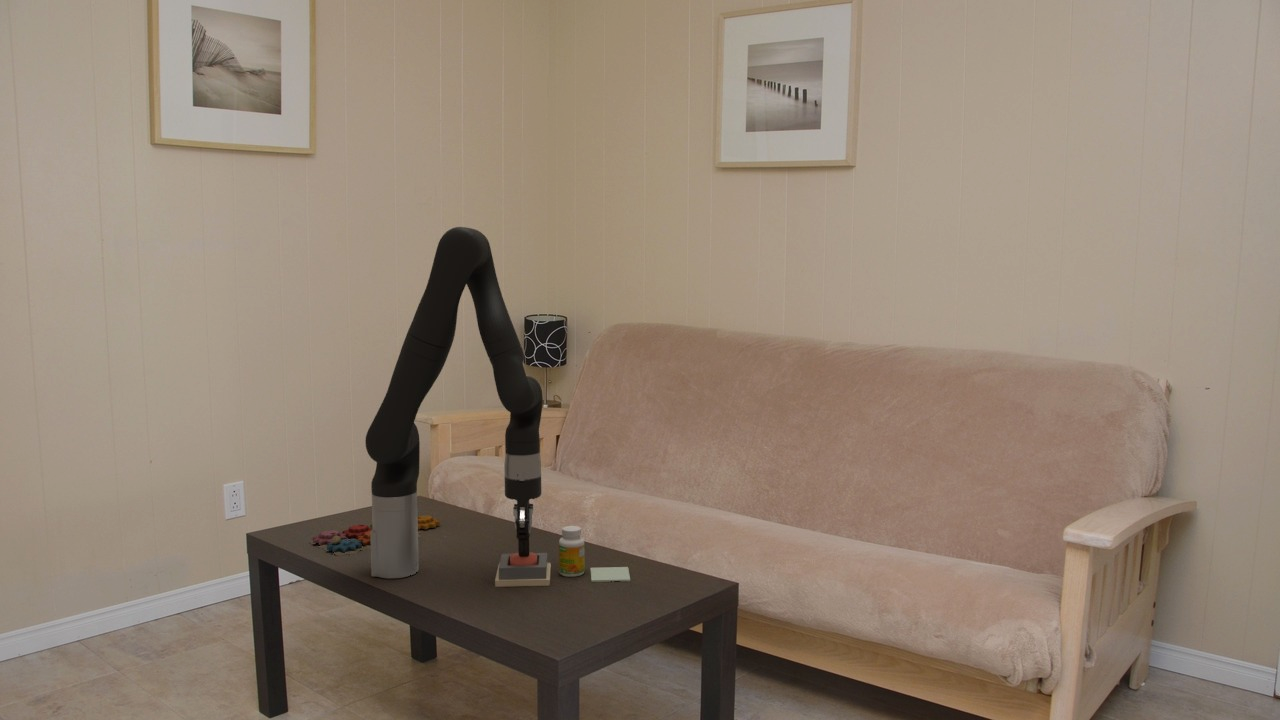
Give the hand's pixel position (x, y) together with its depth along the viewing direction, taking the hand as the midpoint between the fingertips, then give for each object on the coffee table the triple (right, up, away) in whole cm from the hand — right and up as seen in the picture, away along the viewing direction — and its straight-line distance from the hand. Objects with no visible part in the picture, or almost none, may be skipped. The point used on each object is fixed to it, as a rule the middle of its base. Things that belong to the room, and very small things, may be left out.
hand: (524, 555), depth 199 cm
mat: (+18, -4, +2) cm, 19 cm away
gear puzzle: (-37, -2, +29) cm, 47 cm away
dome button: (0, -3, 0) cm, 3 cm away
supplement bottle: (+10, -5, +3) cm, 11 cm away
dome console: (0, -5, 0) cm, 5 cm away
